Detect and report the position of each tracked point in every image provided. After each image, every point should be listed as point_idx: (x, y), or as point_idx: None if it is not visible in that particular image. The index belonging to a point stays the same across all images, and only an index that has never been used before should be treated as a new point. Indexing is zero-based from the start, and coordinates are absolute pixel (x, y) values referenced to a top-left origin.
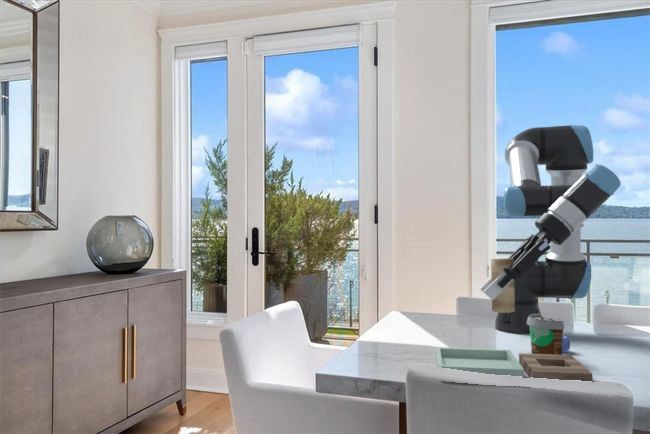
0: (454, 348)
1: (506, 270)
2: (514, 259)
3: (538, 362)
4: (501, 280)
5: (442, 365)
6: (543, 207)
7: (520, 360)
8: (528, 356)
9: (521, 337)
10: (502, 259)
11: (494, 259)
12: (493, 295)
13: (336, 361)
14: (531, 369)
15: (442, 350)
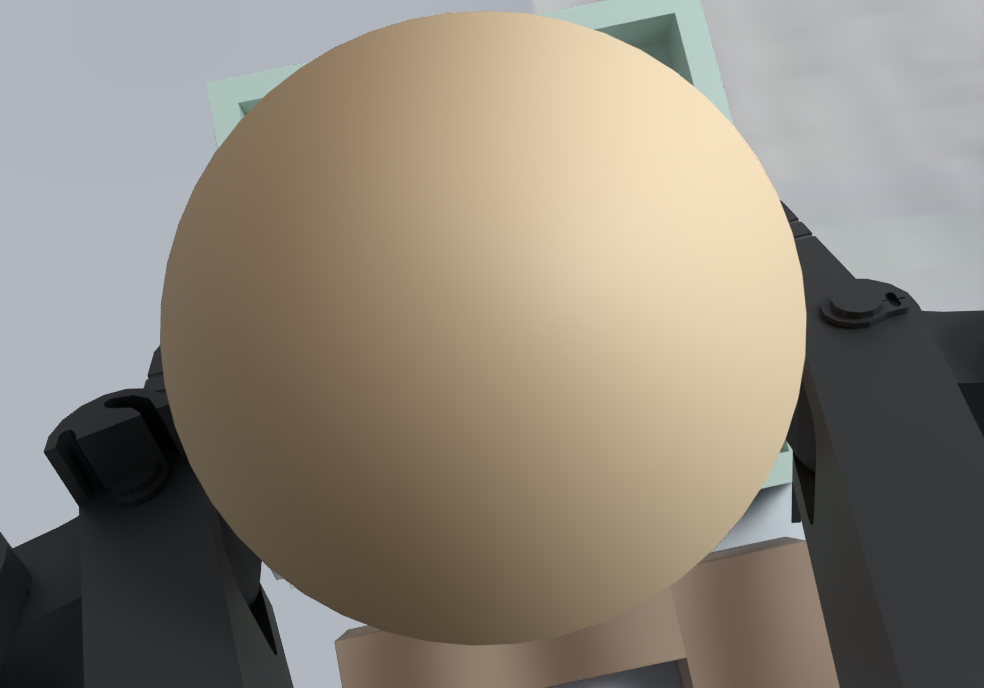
0: (713, 101)
1: (81, 462)
2: (873, 648)
3: (579, 679)
4: (147, 384)
5: (229, 101)
6: None
7: (743, 549)
8: (732, 609)
9: None
10: (198, 333)
11: (244, 121)
12: None
13: None
14: (378, 632)
15: (676, 34)
